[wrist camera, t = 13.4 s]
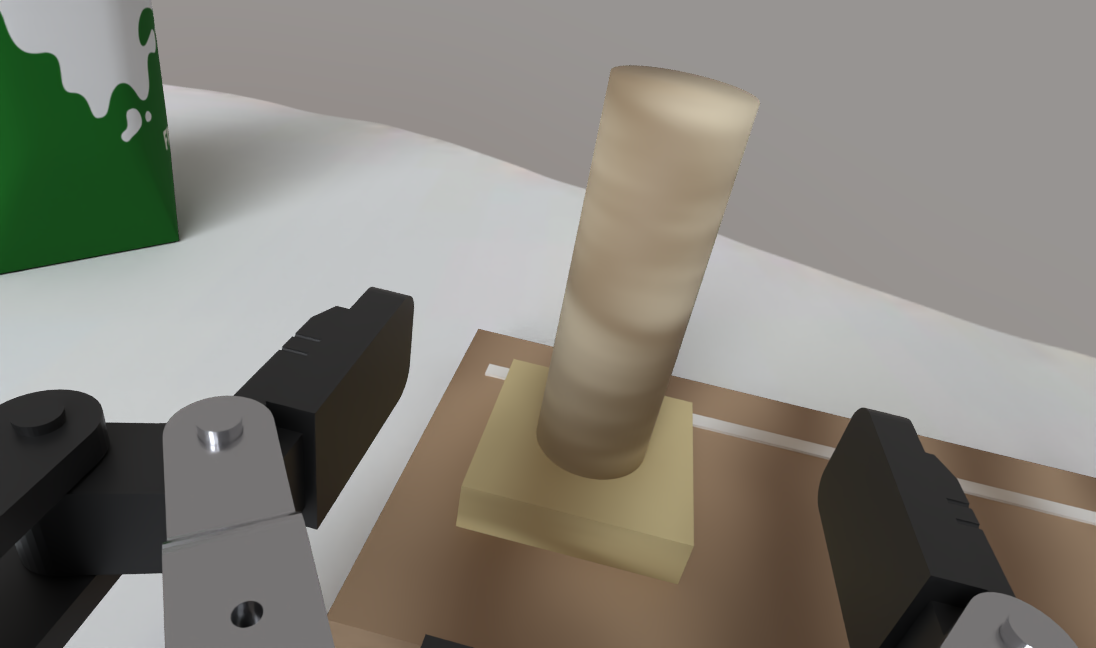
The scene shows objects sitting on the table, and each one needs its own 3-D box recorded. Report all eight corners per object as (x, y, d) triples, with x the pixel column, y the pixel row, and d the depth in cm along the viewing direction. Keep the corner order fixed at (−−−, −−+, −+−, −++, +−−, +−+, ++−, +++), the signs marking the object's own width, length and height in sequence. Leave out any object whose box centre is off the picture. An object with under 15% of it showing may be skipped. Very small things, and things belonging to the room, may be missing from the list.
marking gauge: (680, 437, 22) (804, 87, 17) (677, 584, 17) (857, 155, 11) (507, 394, 23) (568, 38, 17) (455, 525, 18) (516, 82, 12)
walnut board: (1087, 510, 25) (1112, 479, 24) (1399, 958, 14) (1465, 930, 13) (474, 359, 27) (478, 326, 26) (325, 657, 16) (324, 616, 15)
